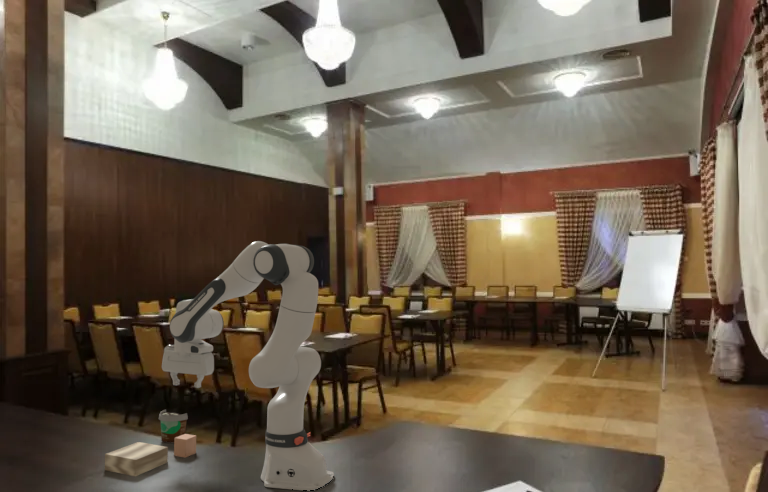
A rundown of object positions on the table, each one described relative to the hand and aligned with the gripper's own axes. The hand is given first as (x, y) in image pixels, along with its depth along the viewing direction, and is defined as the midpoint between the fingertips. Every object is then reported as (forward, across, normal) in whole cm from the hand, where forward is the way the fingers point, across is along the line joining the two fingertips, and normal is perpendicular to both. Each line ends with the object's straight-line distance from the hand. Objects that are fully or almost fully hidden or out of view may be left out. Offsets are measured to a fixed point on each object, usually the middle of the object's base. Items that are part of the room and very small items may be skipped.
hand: (186, 386), depth 185 cm
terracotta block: (+23, 0, 0) cm, 23 cm away
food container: (+23, -16, +9) cm, 30 cm away
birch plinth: (+23, -6, -15) cm, 28 cm away
